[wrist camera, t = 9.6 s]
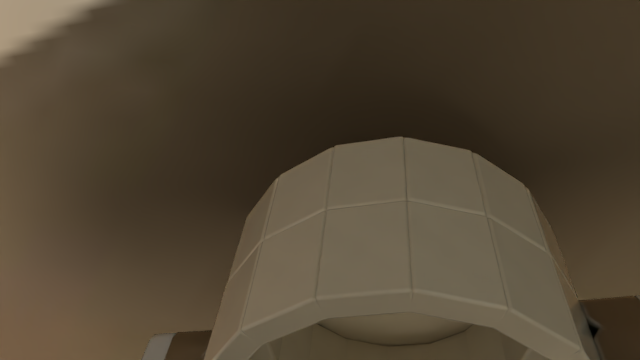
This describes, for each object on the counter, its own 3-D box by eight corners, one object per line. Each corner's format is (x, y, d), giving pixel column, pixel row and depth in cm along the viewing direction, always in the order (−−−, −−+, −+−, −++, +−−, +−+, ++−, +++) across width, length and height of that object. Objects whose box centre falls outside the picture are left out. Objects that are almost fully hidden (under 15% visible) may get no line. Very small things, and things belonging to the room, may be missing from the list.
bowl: (207, 149, 12) (132, 314, 9) (547, 100, 11) (631, 271, 7) (285, 359, 16) (256, 538, 12) (547, 341, 15) (603, 534, 11)
